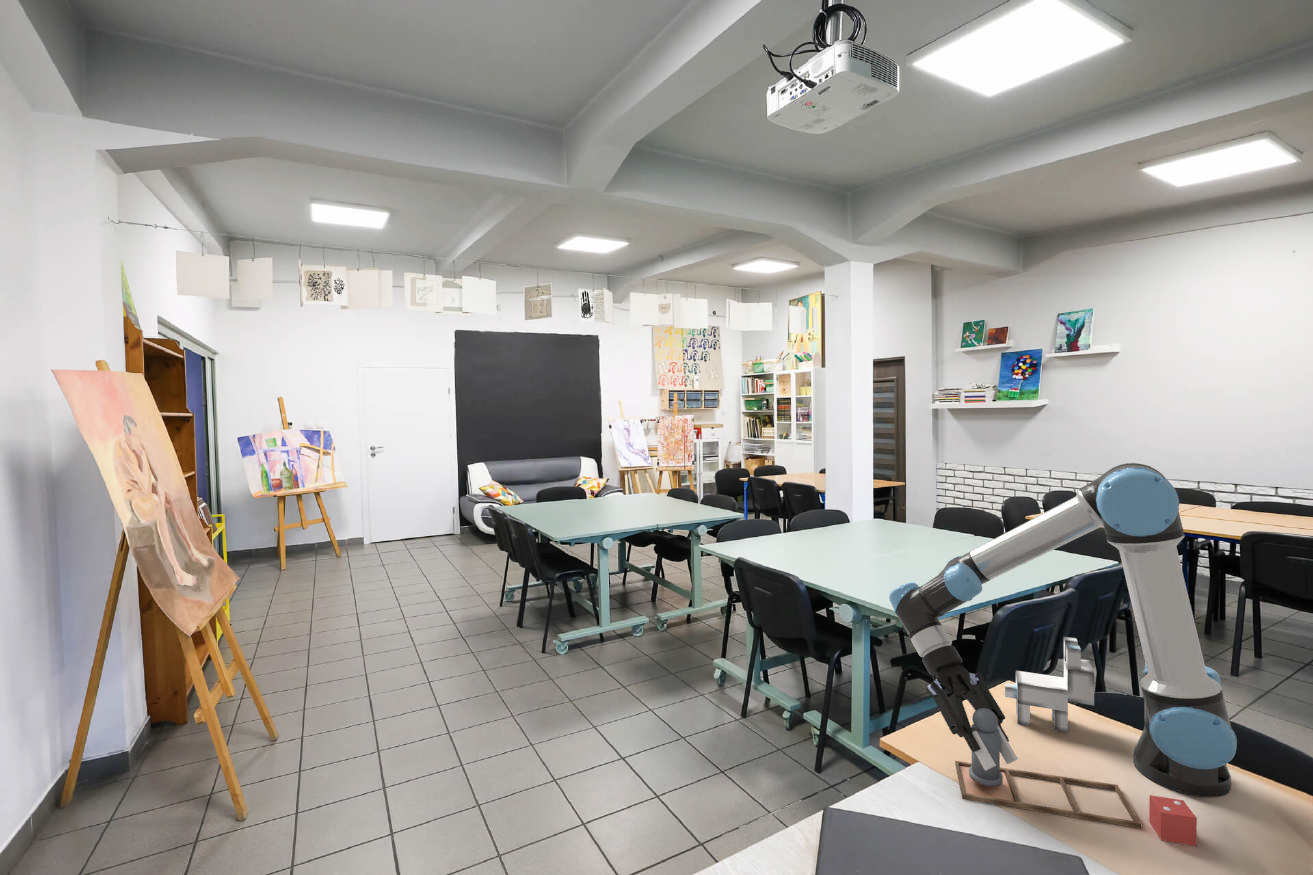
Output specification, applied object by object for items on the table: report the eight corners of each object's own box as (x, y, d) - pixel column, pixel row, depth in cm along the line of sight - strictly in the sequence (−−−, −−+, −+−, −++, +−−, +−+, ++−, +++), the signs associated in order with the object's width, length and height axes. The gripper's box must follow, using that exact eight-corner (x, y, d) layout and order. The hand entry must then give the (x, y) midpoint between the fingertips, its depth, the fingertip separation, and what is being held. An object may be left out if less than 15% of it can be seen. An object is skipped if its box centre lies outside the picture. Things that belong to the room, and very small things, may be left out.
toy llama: (1004, 707, 155) (1004, 629, 154) (1088, 722, 147) (1088, 639, 146) (1005, 721, 148) (1005, 640, 147) (1094, 737, 140) (1094, 651, 139)
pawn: (999, 771, 126) (999, 704, 125) (1005, 788, 120) (1004, 718, 120) (967, 766, 128) (966, 700, 127) (971, 783, 123) (970, 714, 122)
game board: (1117, 788, 122) (1117, 784, 122) (1141, 828, 111) (1141, 823, 110) (955, 764, 132) (955, 760, 132) (962, 798, 120) (962, 794, 120)
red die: (1183, 826, 110) (1183, 799, 110) (1196, 846, 106) (1196, 817, 106) (1149, 821, 112) (1149, 794, 112) (1160, 839, 107) (1161, 811, 107)
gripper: (959, 652, 141) (1024, 760, 126) (895, 665, 135) (954, 780, 120) (978, 637, 136) (1048, 748, 121) (912, 650, 130) (976, 769, 115)
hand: (1001, 764), depth 121 cm, fingers closed on pawn, 5 cm apart
